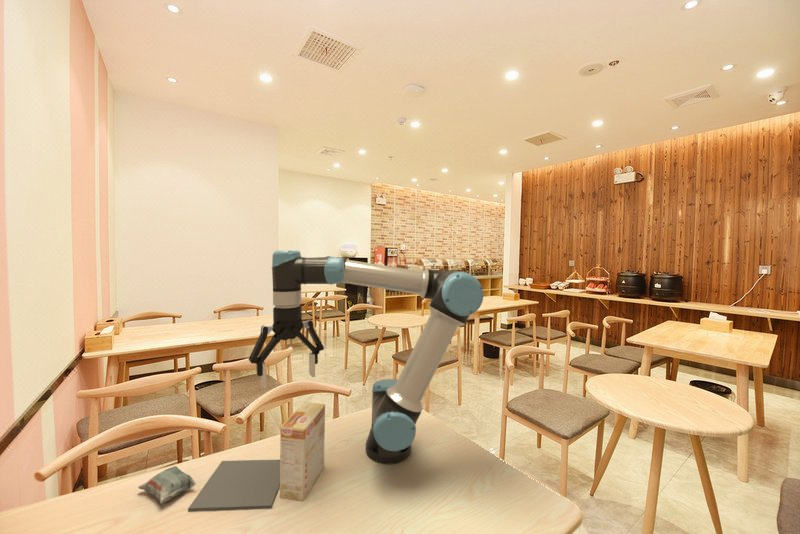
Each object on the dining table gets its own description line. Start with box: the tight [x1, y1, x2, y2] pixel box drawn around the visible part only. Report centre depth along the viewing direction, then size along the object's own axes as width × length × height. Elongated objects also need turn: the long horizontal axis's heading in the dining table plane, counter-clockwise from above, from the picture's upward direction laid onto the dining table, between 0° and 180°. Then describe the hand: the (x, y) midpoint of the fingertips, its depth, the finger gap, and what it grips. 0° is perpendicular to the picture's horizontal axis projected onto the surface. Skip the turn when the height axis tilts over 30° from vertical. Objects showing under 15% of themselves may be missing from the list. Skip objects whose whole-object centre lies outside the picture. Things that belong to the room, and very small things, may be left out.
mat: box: [187, 459, 280, 513], centre depth 93 cm, size 20×19×1 cm
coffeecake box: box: [279, 401, 326, 502], centre depth 95 cm, size 15×7×20 cm, turn 171°
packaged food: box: [137, 465, 196, 505], centre depth 89 cm, size 9×12×5 cm
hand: (289, 381), depth 94 cm, fingers open, 13 cm apart
